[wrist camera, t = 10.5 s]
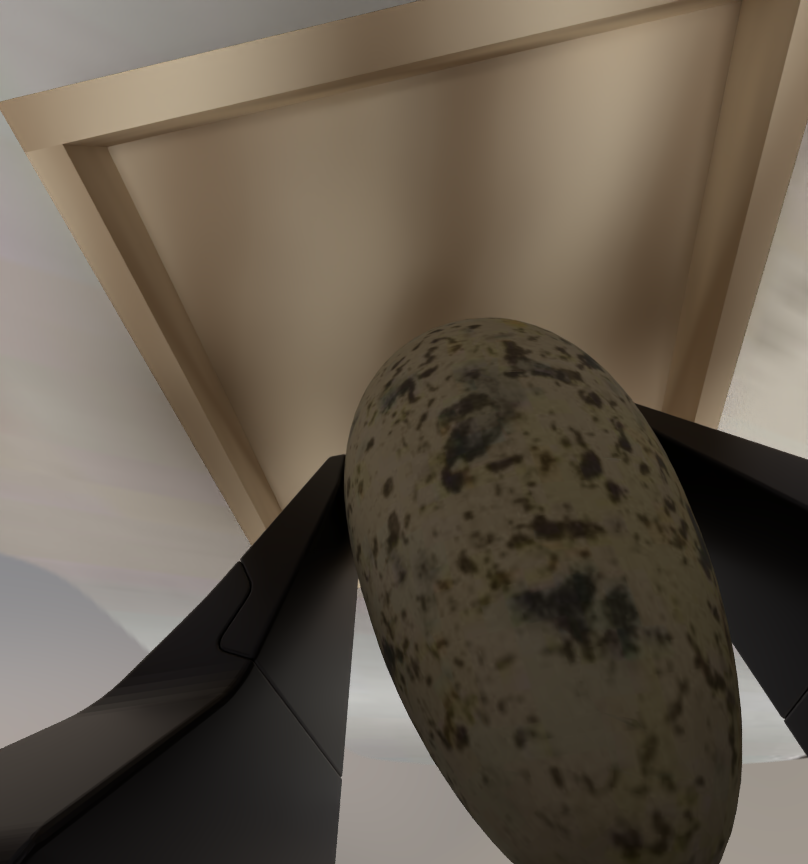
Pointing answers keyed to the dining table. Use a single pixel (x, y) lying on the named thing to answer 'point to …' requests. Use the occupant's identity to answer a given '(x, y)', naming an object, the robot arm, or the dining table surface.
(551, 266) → the wooden tray
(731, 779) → the decorative egg
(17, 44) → the dining table surface
